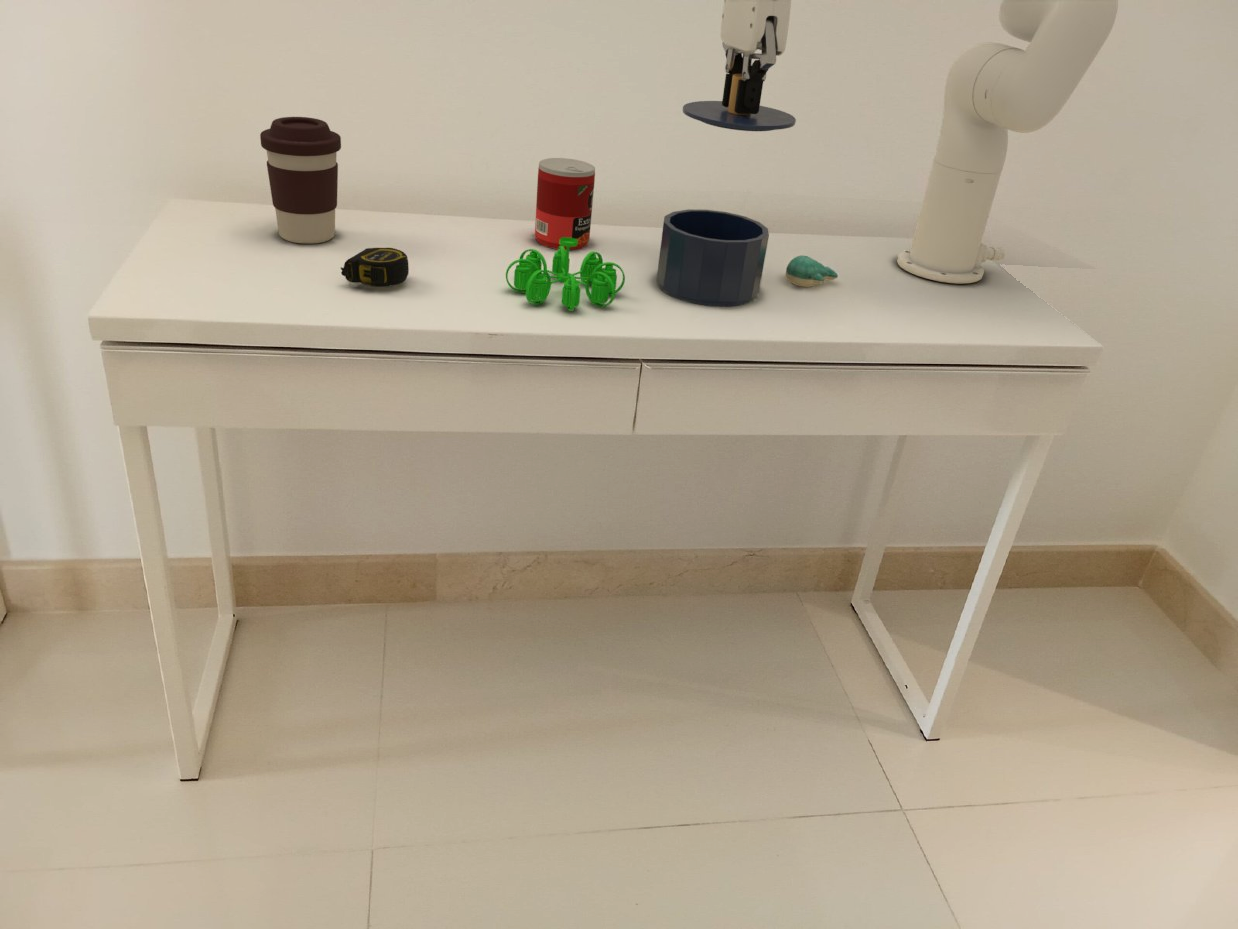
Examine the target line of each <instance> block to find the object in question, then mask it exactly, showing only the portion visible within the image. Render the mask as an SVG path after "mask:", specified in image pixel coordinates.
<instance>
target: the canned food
mask: <svg viewBox="0 0 1238 929" xmlns="http://www.w3.org/2000/svg"><path fill="white" fill-rule="evenodd" d="M537 170H538V171H537V184H536V185H537V186H536V205H535V206H536V207H535V223H534V224H535V225H534V235H535V241H537V243H538V244H540V245H541V246H544V247H546V248H550V249H555V250H558V248H559V246H562V245H560V244H559V240H560V238H563V237H570V238H575V239H577V240H578V243H577V246H575V247H570V249H569V251H574V250H581V249H583V248H585V247H587V246H588V244H589V241H590V238H591V237H590V236H591V227H592V226H591V225H592V213H593V204H594V192H595V191H594V190H595V179H596V167H595V166H594V165H593V164H591V163H589V162H587V161H583V160H579V159H574V158H565V157H550V158H549V157H548V158H544V159H542V160H540V161H539V162H538V168H537ZM564 249H565V250H566V249H567V247H566V246H564Z"/></svg>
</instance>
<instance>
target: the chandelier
mask: <svg viewBox="0 0 1238 929" xmlns="http://www.w3.org/2000/svg"><path fill="white" fill-rule="evenodd" d="M577 243H578V240H577V239H575V238H570V237H563V238H560V240H559V244H560V245H562V246H559V248H558V249H557V251H555V252H554V253H553V257H552V266H551V270H549V269H548V265H547V261H546V259H545V257H544V255H543V254H542V253H541V252H540V250H537V249H535V248H529V249H525V250H524V251H523V252H522V253H521V254H520V256H519V258H518V259H516V260H514V261H512V262H511V263H510V264H509V265H508V267H507V268H506V272H505V281H506V283H507V285H508V286H509V288H510V289H511V290H512V291H514V292H516V293H521V294H524V293H525V298H526V301H527V302H528V303H529V304H532V305H534V306H538V305H541V304H543V303H544V301H546V300H547V298H548V297H549V293H550V291H551V287H552V284H555V283H557V282H560V283H563V286H562V290H561V304H562V306H564V307H566V308H567V311H568V312H574V310H575V308H577V307H578V306H579V305H580V300H581V299H580V298H581V288H580V284H581V285H583V286H585V287H584V289H585V293H586V296H587V298H588V300H589V301H590V303H592V304H593V306H594V305H595V306H596V307H599V308H604V307H608V306H610V305H611V304H612V303H613V302H614V300H615V297H616V294H617V293H619V292H620V291H621V290H622V289H623V287H624V285H625V281H626V275H625V273H624V270H623V268H622V267H621V266H620V265H619V264H617V263H615V262H612V261H606V262H604V260H603V257H602V254H601V253H599V252H598V251H590V252H588V253H587V254H586V255H585V256H584V258H583V260H582V262H581V264H580V269H579V271H577V272H574V273H570V250H569V249H570V247H575V246H577ZM564 246H566V247H567V249H566V250H565V249H564ZM528 252H529V254H527V255H526V253H528ZM525 255H526V256H525ZM524 256H525V258H524ZM516 264H517V265H516ZM514 265H515V270H514V274H513V275H514V277H513V285H511V283H510V281H509V278H508V277H509V276H508V275H509V272H510V269H511V268H512V267H513V266H514ZM614 267H616V268H617V269H619V270H620V272H621V274H622V281H621V283H620V285H619V287H618V288H617V281H618V280H617V279H618V275H617V270H616V268H614ZM542 268H543V269H542ZM550 274H552V275H550ZM577 275H579V276H577ZM552 279H555V280H552ZM590 285H591V286H590ZM590 288H591V289H590ZM609 296H611V297H610V299H609Z"/></svg>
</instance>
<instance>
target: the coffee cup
mask: <svg viewBox="0 0 1238 929" xmlns="http://www.w3.org/2000/svg"><path fill="white" fill-rule="evenodd" d="M259 136H260V137H259V138H260V139H259V140H260V146H261V148H262V149H264V150H265V151H266V156H267V161H266V168H267V175H268V181H269V182H268V183H269V189H270V195H271V201H272V205H273V206H272V207H274V209H275V210H274V211H275V216H276V223H277V224H276V225H277V230H278V234H279V236H280V238H282V239H283V240H285V241H288V242H291V243H295V244H296V243H297V244H320V243H325V242H327V241H330V240H331V239H333V238H334V236H335V234H336V209H337V207H338V186H339V184H338V182H339V181H338V178H339V164H338V162H337V152H339V151H341V149H342V137H341V135H340V134H339V133H337V132H335V131H333V130H331V129H330V127H329V124H328V123H327V121H324V120H322V119H318V118H315V117H306V116H285V117H283V116H282V117H279V118H276V119H273V121H272V122H271V124H270V128H267V129H265V130H263V131H261V133H260V135H259Z"/></svg>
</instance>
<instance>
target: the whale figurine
mask: <svg viewBox="0 0 1238 929" xmlns="http://www.w3.org/2000/svg"><path fill="white" fill-rule="evenodd" d="M838 277H839V276H838V274H837V272H836V271H835V270H834V269H832V268H831V267H829V266H825V265H823V263H821V262H819V261H818V260H815V259H814V258H812V257H810V256H808V255H805V254H803V255H798V256H795V257H793V258H792V259H790V261H789V263H788V264H787V266H786V270H785V278H786V279H787V281H789V282H791V283H792V284H794V285H795V286H800V287H804V288H810V287H813V286H816V285H821V284H823V283H824V281H827V280H828V281H834V280H836V279H838Z"/></svg>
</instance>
